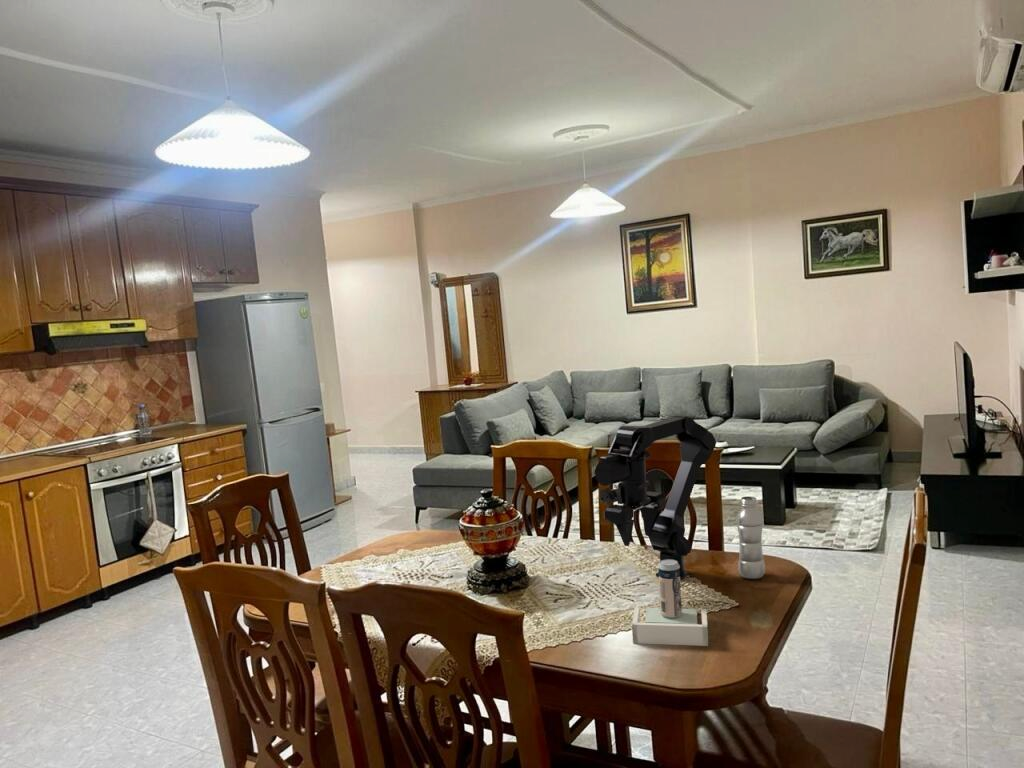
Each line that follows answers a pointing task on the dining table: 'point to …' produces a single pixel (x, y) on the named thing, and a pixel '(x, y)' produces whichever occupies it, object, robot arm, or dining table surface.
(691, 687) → the dining table surface
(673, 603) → the pill bottle
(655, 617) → the mat
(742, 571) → the plastic bottle
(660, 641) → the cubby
